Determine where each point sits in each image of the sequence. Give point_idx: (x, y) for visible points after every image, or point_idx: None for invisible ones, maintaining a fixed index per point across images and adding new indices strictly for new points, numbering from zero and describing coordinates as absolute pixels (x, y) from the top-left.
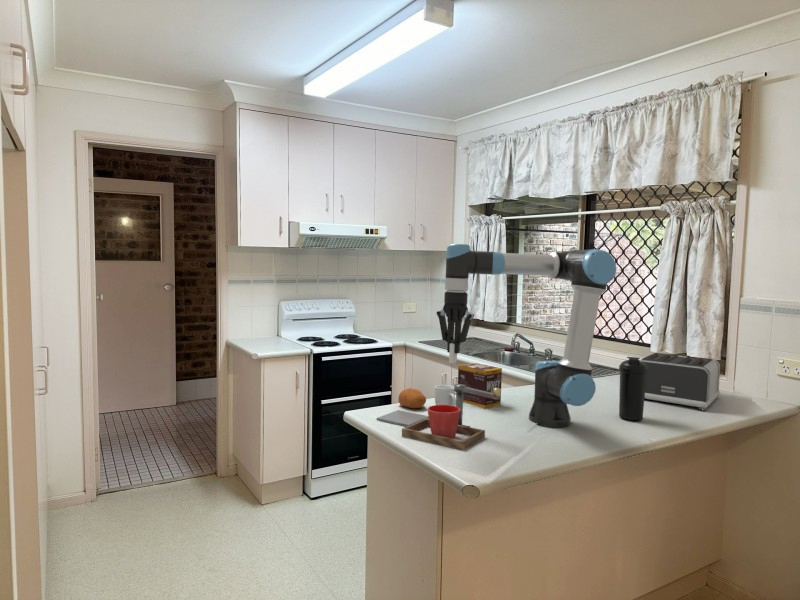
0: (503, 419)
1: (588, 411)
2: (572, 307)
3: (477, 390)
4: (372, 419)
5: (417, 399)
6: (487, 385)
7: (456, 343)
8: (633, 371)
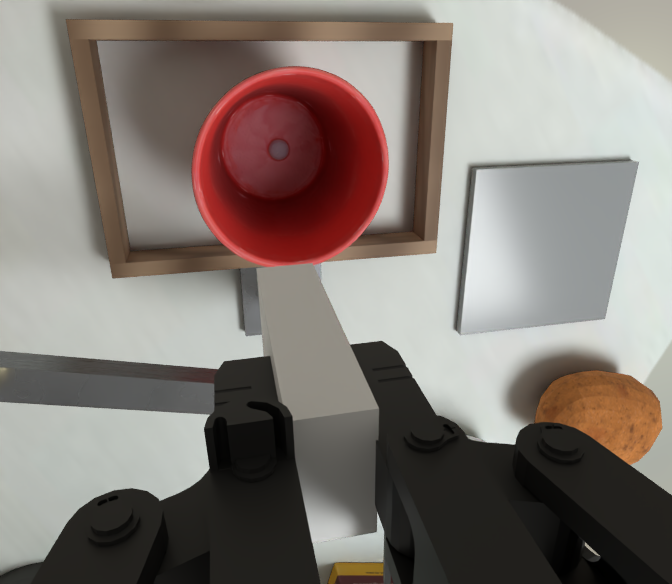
0: None
1: None
2: None
3: (157, 390)
4: (650, 158)
5: (567, 401)
6: None
7: (219, 435)
8: None
